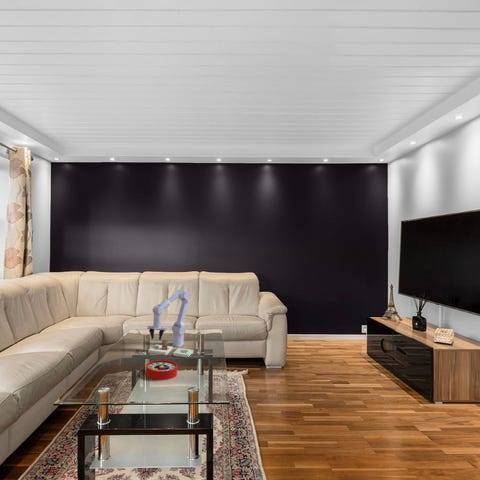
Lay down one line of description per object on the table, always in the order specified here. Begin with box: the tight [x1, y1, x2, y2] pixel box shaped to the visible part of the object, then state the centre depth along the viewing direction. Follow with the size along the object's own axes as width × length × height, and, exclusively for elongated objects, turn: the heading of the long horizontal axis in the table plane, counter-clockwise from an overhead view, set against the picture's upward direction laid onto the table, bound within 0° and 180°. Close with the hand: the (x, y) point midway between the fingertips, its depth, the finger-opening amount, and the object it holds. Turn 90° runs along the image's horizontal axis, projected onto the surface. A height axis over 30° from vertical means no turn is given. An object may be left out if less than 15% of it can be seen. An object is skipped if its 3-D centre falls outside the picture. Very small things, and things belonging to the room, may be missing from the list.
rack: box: [172, 347, 195, 358], centre depth 310 cm, size 12×12×2 cm
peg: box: [161, 339, 169, 350], centre depth 313 cm, size 4×4×8 cm
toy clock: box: [145, 359, 178, 381], centre depth 270 cm, size 20×6×20 cm
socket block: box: [147, 344, 174, 356], centre depth 314 cm, size 14×14×2 cm
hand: (156, 339), depth 314 cm, fingers open, 5 cm apart
